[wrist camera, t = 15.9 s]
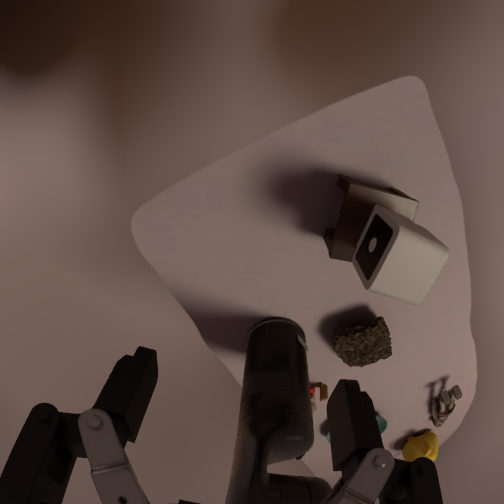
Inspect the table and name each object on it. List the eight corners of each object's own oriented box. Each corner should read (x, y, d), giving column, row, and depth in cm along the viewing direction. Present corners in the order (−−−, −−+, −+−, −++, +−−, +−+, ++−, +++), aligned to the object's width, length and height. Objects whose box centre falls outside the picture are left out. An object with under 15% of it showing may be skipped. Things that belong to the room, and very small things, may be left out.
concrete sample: (327, 317, 44) (332, 338, 39) (388, 301, 42) (398, 320, 38) (336, 364, 48) (340, 385, 44) (389, 350, 47) (396, 370, 42)
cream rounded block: (365, 195, 30) (401, 227, 21) (414, 217, 30) (457, 254, 21) (342, 245, 32) (366, 292, 23) (391, 263, 33) (424, 311, 24)
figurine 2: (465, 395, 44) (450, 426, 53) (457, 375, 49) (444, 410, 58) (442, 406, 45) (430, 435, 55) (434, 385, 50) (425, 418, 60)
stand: (381, 250, 39) (396, 270, 33) (322, 238, 39) (329, 258, 33) (399, 189, 35) (419, 201, 29) (338, 173, 35) (350, 183, 29)
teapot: (428, 445, 65) (436, 470, 56) (397, 455, 67) (403, 482, 58) (438, 420, 58) (449, 449, 49) (403, 432, 60) (412, 463, 51)
